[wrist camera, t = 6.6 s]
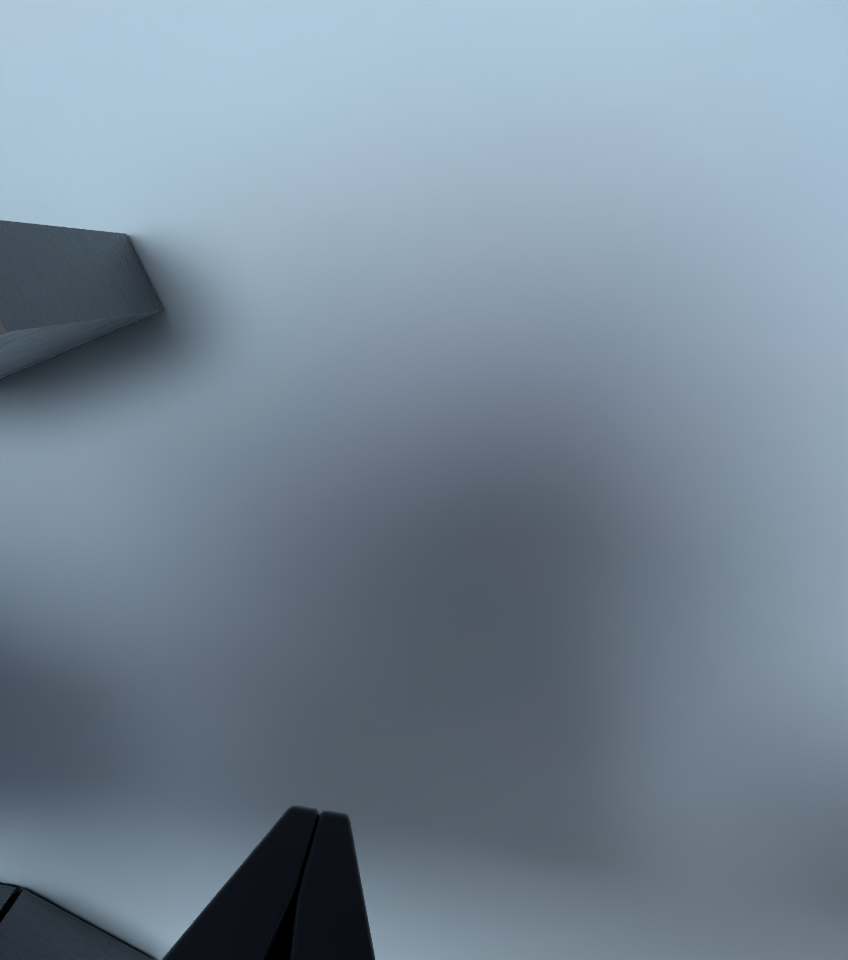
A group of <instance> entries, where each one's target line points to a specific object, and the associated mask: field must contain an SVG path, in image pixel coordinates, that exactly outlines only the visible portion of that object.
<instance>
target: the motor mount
mask: <svg viewBox="0 0 848 960" xmlns="http://www.w3.org/2000/svg"><path fill="white" fill-rule="evenodd" d="M162 310H164V309H163V307H162V305H161V303H160V300H159V298H158V296H157V294H156V292H155V290H154V288H153V286H152V284H151V282H150V280H149V278H148V276H147V274H146V272H145V270H144V268H143V266H142V264H141V262H140V260H139V258H138V256H137V254H136V252H135V250H134V248H133V246H132V244H131V242H130V240H129V238H128V236H127V234H123V233H113V232H104V231H95V230H85V229H76V228H67V227H57V226H48V225H39V224H29V223H20V222H11V221H1V220H0V379H2V378H4V377H6V376H9V375H11V374H13V373H16V372H18V371H20V370H23V369H25V368H28V367H30V366H32V365H35V364H37V363H39V362H42V361H44V360H46V359H49V358H51V357H54V356H56V355H58V354H61V353H63V352H65V351H68V350H70V349H72V348H75V347H77V346H79V345H82V344H84V343H87V342H89V341H91V340H94V339H96V338H98V337H101V336H103V335H105V334H108V333H110V332H113V331H115V330H117V329H120V328H122V327H124V326H127V325H129V324H131V323H134V322H136V321H139V320H141V319H143V318H146V317H148V316H150V315H153V314H155V313H157V312H160V311H162ZM0 960H153V959H151V958H149V957H148V956H146V955H144V954H142V953H140V952H138V951H137V950H135V949H133V948H131V947H129V946H128V945H126V944H124V943H122V942H120V941H118V940H117V939H115V938H113V937H111V936H109V935H107V934H106V933H104V932H102V931H100V930H98V929H96V928H95V927H93V926H91V925H89V924H87V923H85V922H84V921H82V920H80V919H78V918H76V917H75V916H73V915H71V914H69V913H67V912H65V911H64V910H62V909H60V908H58V907H56V906H54V905H53V904H51V903H49V902H47V901H45V900H43V899H42V898H40V897H38V896H36V895H34V894H32V893H31V892H29V891H27V890H25V889H24V890H23V891H22V892H21V893H20V895H19V896H18V897H17V888H16V887H12V886H6V885H0Z"/></svg>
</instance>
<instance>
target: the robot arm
mask: <svg viewBox="0 0 848 960" xmlns="http://www.w3.org/2000/svg"><path fill="white" fill-rule="evenodd" d="M162 960H375V955H374V949H373V944H372V938H371V933H370V927H369V922H368V916H367V911H366V905H365V900H364V895H363V889H362V884H361V878H360V873H359V867H358V862H357V856H356V851H355V845H354V840H353V834H352V829H351V823H350V819H349V817H348V815H346V814H344V813H338V812H332V811H322V812H321V813H320V815H319V811H318V810H316V809H314V808H308V807H302V806H292V807H290V808H289V809H288V810H287V811H286V812H285V813H284V814H283V816H282V817H281V818H280V819H279V820H278V822H277V823H276V824H275V825H274V826H273V828H272V829H271V830H270V831H269V832H268V834H267V835H266V836H265V837H264V838H263V840H262V841H261V842H260V843H259V844H258V845H257V847H256V848H255V849H254V850H253V851H252V853H251V854H250V855H249V856H248V857H247V859H246V860H245V861H244V862H243V863H242V865H241V866H240V867H239V868H238V869H237V871H236V872H235V873H234V874H233V875H232V877H231V878H230V879H229V880H228V881H227V882H226V884H225V885H224V886H223V887H222V888H221V890H220V891H219V892H218V893H217V894H216V896H215V897H214V898H213V899H212V900H211V902H210V903H209V904H208V905H207V906H206V908H205V909H204V910H203V911H202V912H201V914H200V915H199V916H198V917H197V918H196V920H195V921H194V922H193V923H192V924H191V925H190V927H189V928H188V929H187V930H186V931H185V933H184V934H183V935H182V936H181V937H180V939H179V940H178V941H177V942H176V943H175V945H174V946H173V947H172V948H171V949H170V951H169V952H168V953H167V954H166V955H165V957H164V958H163V959H162Z"/></svg>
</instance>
